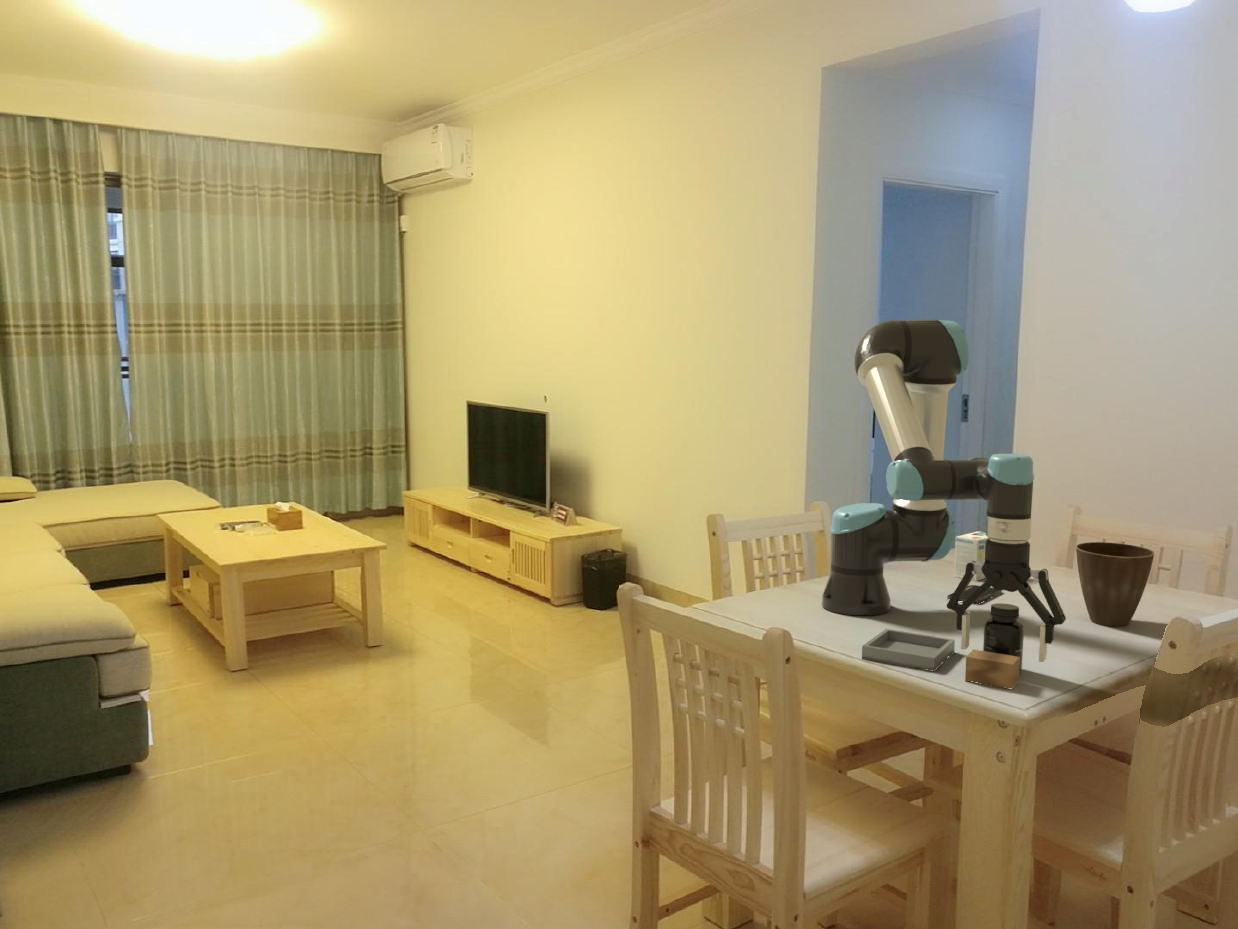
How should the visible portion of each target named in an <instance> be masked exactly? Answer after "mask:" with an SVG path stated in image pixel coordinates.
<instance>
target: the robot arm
mask: <svg viewBox="0 0 1238 929" xmlns="http://www.w3.org/2000/svg"><path fill="white" fill-rule="evenodd" d="M969 362H970V346H969V341H968V337H967V335H966V332H965V330H964V329H963V327H962V326H961V324H959V323H957V322H956V321H953V320H943V319H916V320H915V319H908V320H899V319H891V320H885V321H883V322H879V323H878V324H876V325H874V326H873V327H872V328H870V329H869V330H868V331H867V332H866V333H865V334H864V335H863V336H862V337H861V339H860V341H859V343H858V345H857V348H856V351H855V355H854V369H855V373H856V376H857V380H858V382H859V383H860V384H861V385H862V386H864V387H866V390H867V393H868V395H869V399H870V401H871V404H872V408H873V410H874V412H875V416H876V418H877V421H878V424H879V427H880V429H881V432H882V435H883V438H884V440H885V444H886V446H887V449H888V453H889V455H890V457H891V462H890V463H888V464H889V465H887V469H886V475H885V481H886V489H887V492H888V494H889V495H890V497H891V498H892V499H893V500H892V509H886V506H885V505H884V504H882V503H877V502H870V503H868V502H863V503H853V504H848V505H844V506H841V507H839V508H837V509H836V510H835V511H834V512H833V513H832V519H831V527H830V533H831V537H830V539H831V540H830V574H829V576H828V578H827V582H826V585H825V587H824V590H823V593H822V597H821V605H822V608H824V609H825V610H827V611H830V612H834V613H836V614H843V615H851V616H877V615H882V614H886V613H888V612H890V611H891V597H890V593H889V590H888V586H887V584H886V583H887V582H886V581H885V577H884V563H885V562H886V563H888V562H923V563H924V562H930V561H939V560H942V559H944V558H945V557H946V556H947V555H948V554H949V553H950V551H951V550H952V547H953V544H954V541H955V538H956V525H955V518H954V515H953V513H952V511H950V510H949V509H947V502H946V501H947V500H948V501H951V500H952V501H953V500H957V501H958V500H983V501H986V522H985V523H986V524H985V532H986V536H987V537H988V538H989V539H987V541H986V543H985V562H984V565H982V564H978V563H976V562H975V561H971V562H969V563H968V564H967V565H966V571H965V575H964V577H963V578H961V580H960V582H959V584H958V586H956V588H955V590H954V592H953V595H952V597H951V598H950V600H948V602H947V603H946V608H947V609H949V610H951V611H954V612H955V613H956V626H955V627H956V630H957V631H961V637H960V638H961V640H960V641H961V642H960V649H961V650H965V651H966V650H967V649H968V648H969V646H970V631H971V628H970V627H971V626H970V625H971V611H967V609H969V607H971V606H972V605H974V604H973V603H974V602H975V601H976V600H977V599H978V598H979V597H980V596H981V595H982V594H983V593H984V592H985V591H987V590H988V589H989V588H994V589H996V590H1002V591H1006V592H1009V593H1014V592H1018V593H1019V594H1020V595H1021V597H1024V599H1025V600H1026V601H1027V603H1028V604H1029V606H1030V607H1031V608H1032V609H1033V610H1034V612H1035V613H1036V614H1037V616H1038V617H1039V619H1040V620H1041V621H1042V624H1041V625H1040V628H1039V647H1038V648H1039V651H1038V662H1040V663H1044V662H1045V660H1046V659H1047V655H1048V654H1047V652H1048V650H1047V649H1048V644H1049V645H1051V644H1052V643H1053V642H1054V638H1055V637H1054V636H1055V626H1057V625H1063V624H1064V623H1065V621H1066V619H1067V616H1066V615H1065V613H1064V610H1063V608H1062V607H1061V603H1060V601H1059V600H1058V598H1057V596H1056V593H1055V591H1054V590H1053V587H1052V585H1051V583H1050V580H1049V571H1048V569H1047V568H1042V569H1031V566H1030V553H1031V543H1030V542H1029V540H1030V539H1031V531H1032V530H1031V529H1032V509H1033V508H1032V506H1033V492H1034V491H1033V490H1034V487H1033V486H1034V479H1035V475H1034V461H1033V459H1032V457H1031V456H1029V455H1027V454H1019V453H995V454H992V455H991V456H990V457H989V458H986V457H971V458H968V459H951V460H950V459H944V453H945V441H946V440H945V438H946V427H947V426H946V424H947V412H948V400H949V399H948V398H949V391H950V390H951V389H953V387H954V386H955V385H957V378H958V376H960V375H962V374H964V373H965V372H966V371H967V369H968V366H969ZM979 571H982V573H983V574H984V576H985V577H986V578H985V579H986V580H985V581H983V583H982V584H981V585H979V586H980V587H979V588H978V589H977V590H976V591H975V592H974V593H973V594H972V595H971V596H970V597H969V598H968V599H967V600H966V601H964V602H961V603H960V602H958V601H959V600H960V598H961V596H962V595H963V593H964V591H965V590H966V588H967V586H970V583H971V582H972V581H973V580H972V578H973V576H974V575H976V574H978V572H979ZM1030 578H1033V579H1034V581H1035V582H1036V583H1038V584H1039V588H1040V590H1041V593H1042V595H1043V598H1045V601H1046V603H1047V605H1048V607H1049V610H1050V611H1051V613H1050V611H1049V610H1048V609H1047V607H1046V606H1045V605H1044V603H1043V602H1042V601H1041V599H1039V597H1038V596H1037V594H1035V592H1034V591H1033V590H1032V587H1031V586H1030V585H1029V583H1028V582H1027V581H1029V580H1030Z"/></svg>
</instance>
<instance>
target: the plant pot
mask: <svg viewBox="0 0 1238 929" xmlns="http://www.w3.org/2000/svg"><path fill="white" fill-rule="evenodd" d="M1075 551H1076V561H1077V562H1076V563H1077V571H1078V577H1079V582H1080V586H1081V587H1080V588H1081V593H1082V596H1083V600H1084V604H1085V607H1086V610H1087V614H1088V617H1089V620H1090V621H1091V622H1093V623H1095V624H1097V625H1102V626H1107V627H1117V628H1118V627H1121V628H1122V627H1126V626H1128V625H1129V624H1130V623H1131V620H1132V619H1133V617H1134V615H1135V613H1136V611H1137V609H1138V607H1139V604H1140V602H1141V600H1142V597H1143V594H1144V592H1145V589H1146V585H1147V583H1148V580H1149V577H1150V574H1151V570H1152V565H1153V563H1154V562H1153V561H1154V558H1155V552H1154V551H1153V550H1151V549H1149V548H1147V547H1142V546H1139V545H1138V546H1137V545H1134V544H1129V543H1127V544H1125V543H1120V542H1108V541H1107V542H1105V541H1104V542H1102V541H1094V542H1093V541H1092V542H1083V543H1079V544H1076V545H1075Z"/></svg>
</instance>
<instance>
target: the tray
mask: <svg viewBox="0 0 1238 929" xmlns="http://www.w3.org/2000/svg"><path fill="white" fill-rule="evenodd" d="M955 641H956V639H953V638H946V637H941V636H934V635H928V634H921V633H915V632H911V631H910V632H909V631H903V630H897V629H890V628H885V629H884V630H883V631H880V632H879V633H878V634H877V635H875V636H874V637H873V638H871V639H869V640H868V641H867V642H866V643H864V644H863V645H862V646H861V647H862V648H861V649H862V650H861V659H863V660H868V661H874V662H879V663H884V664H890V665H895V664H896V666H900V665H901V666H902V667H906V666H908V668H912V667H913V669H917V668H919V669H918V670H923V669H928V670H933V671H932V672H935V671H934V670H935V669H936V668H937V667H938V666H939V665H940V664H941V663H942V662H943V663H945V661H947V660H948V659H947V657H948V656H950V655H951V654H952V653H953V652H954V653H955V646H956V645H955V643H956V642H955ZM954 653H953V654H954ZM953 654H952V655H953ZM952 655H951V656H952ZM951 656H950V657H951ZM943 663H942V664H943ZM942 664H941V665H942ZM941 665H940V666H941ZM940 666H939V667H940ZM939 667H938V668H939ZM938 668H937V669H938ZM937 669H936V670H937ZM928 670H927V671H928Z"/></svg>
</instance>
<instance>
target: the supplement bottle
mask: <svg viewBox="0 0 1238 929" xmlns="http://www.w3.org/2000/svg"><path fill="white" fill-rule="evenodd" d="M989 615H990V616H991V617H990V618H988V619H986V620H985V622H984V626H983V641H982V642H983V645H982V646H983V647H982V651H986V652H993V653H999V654H1005V655H1011V656H1017V657H1020V668H1019V674H1020V673H1021V672H1022V670H1023V654H1024V653H1023V652H1024V639H1025V638H1024V635H1025V627H1024V624H1023V623H1022V622H1021V621H1020V620H1019V618H1020V607H1019V606H1017V605H1015V604H1011V603H1002V602H1001V603H998V602H997V603H992V604H991V605H990V611H989Z"/></svg>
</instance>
